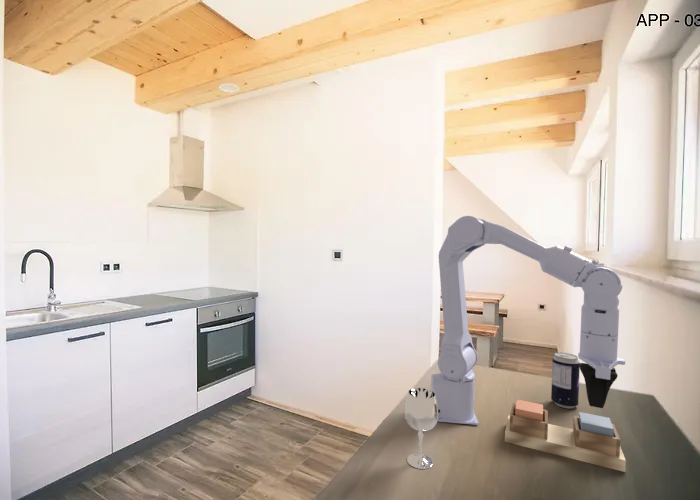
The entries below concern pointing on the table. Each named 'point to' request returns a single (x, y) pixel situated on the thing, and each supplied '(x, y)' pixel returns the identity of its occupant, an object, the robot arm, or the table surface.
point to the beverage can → (565, 380)
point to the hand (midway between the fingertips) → (595, 405)
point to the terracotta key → (529, 410)
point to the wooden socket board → (565, 441)
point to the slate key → (595, 424)
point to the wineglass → (421, 421)
